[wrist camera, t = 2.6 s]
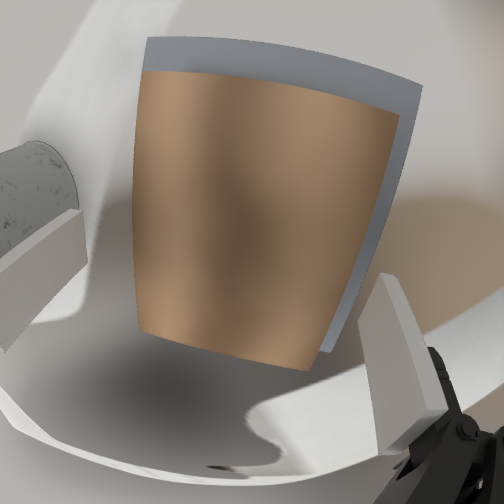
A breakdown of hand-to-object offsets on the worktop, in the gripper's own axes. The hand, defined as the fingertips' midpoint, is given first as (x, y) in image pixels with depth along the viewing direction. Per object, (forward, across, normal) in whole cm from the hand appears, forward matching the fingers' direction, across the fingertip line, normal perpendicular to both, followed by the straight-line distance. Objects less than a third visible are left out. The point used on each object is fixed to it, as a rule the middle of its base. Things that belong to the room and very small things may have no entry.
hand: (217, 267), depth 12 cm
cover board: (+7, -1, 0) cm, 7 cm away
